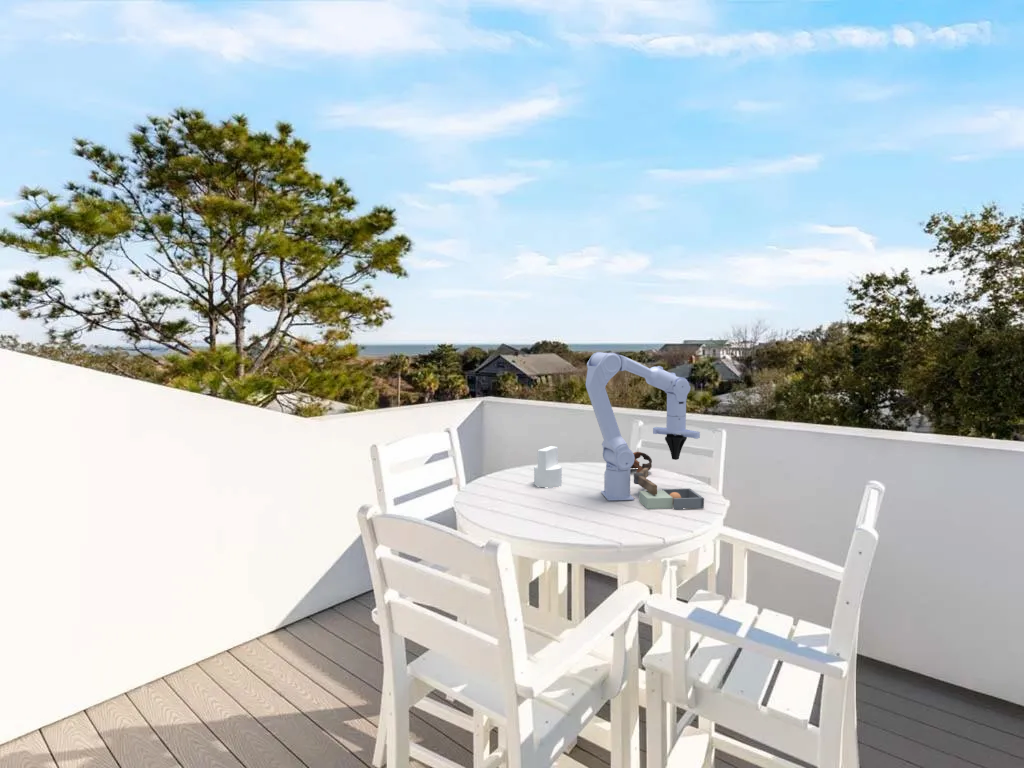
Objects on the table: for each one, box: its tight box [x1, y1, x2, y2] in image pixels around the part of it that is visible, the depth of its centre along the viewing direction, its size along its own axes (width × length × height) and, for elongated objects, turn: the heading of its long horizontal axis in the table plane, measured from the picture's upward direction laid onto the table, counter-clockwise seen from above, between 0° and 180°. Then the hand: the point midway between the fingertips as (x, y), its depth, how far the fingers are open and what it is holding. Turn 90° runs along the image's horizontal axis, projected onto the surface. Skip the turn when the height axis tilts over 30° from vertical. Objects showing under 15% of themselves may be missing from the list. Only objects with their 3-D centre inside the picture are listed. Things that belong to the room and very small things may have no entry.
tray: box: [661, 487, 705, 510], centre depth 172 cm, size 11×8×3 cm
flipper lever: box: [633, 468, 658, 495], centre depth 181 cm, size 23×6×3 cm, turn 174°
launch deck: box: [638, 489, 673, 510], centre depth 171 cm, size 8×7×3 cm
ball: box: [670, 492, 681, 498], centre depth 171 cm, size 4×4×4 cm
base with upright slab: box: [533, 445, 563, 489], centre depth 194 cm, size 9×9×12 cm
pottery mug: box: [631, 451, 653, 473], centre depth 211 cm, size 12×10×8 cm
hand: (675, 459), depth 184 cm, fingers closed
